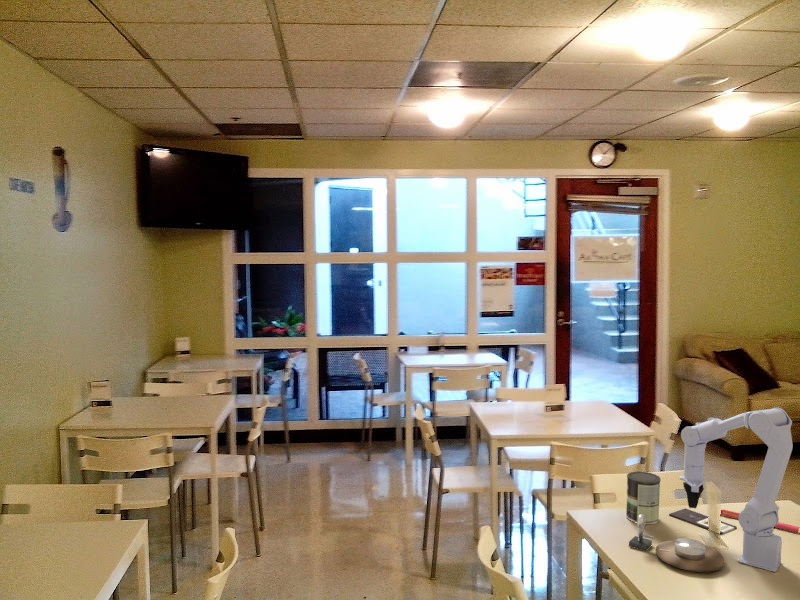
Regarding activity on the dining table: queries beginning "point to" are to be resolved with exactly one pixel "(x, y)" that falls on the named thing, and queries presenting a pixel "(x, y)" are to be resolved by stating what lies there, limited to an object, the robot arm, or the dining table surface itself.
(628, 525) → the dining table surface
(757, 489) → the robot arm
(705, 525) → the chocolate bar
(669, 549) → the turntable
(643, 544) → the trophy
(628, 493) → the coffee can
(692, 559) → the cover
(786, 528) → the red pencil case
